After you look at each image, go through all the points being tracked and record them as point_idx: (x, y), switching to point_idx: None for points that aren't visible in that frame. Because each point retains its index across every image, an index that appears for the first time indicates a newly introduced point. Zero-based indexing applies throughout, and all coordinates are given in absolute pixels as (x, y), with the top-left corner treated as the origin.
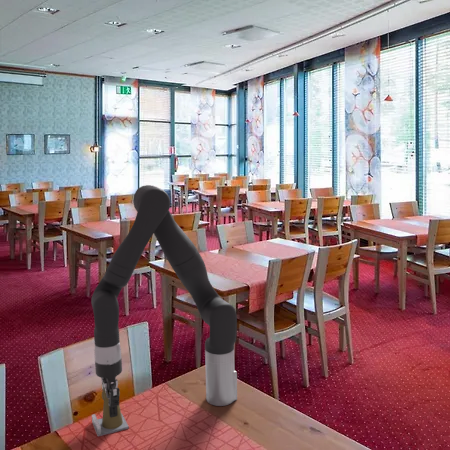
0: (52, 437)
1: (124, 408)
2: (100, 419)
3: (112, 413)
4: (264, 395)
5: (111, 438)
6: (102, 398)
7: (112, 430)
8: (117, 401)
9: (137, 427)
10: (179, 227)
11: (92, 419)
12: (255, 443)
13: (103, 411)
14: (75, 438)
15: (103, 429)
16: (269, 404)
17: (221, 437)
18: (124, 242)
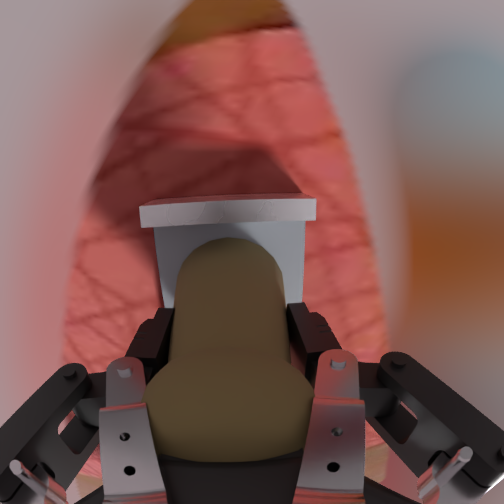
0: (251, 5)
1: (343, 348)
2: (297, 239)
3: (137, 335)
4: None
5: (119, 259)
6: (218, 351)
7: (162, 277)
8: (71, 428)
9: None
10: None
11: (292, 196)
12: (78, 472)
13: (222, 283)
14: (187, 90)
15: (186, 237)
16: None
17: (94, 462)
18: None
